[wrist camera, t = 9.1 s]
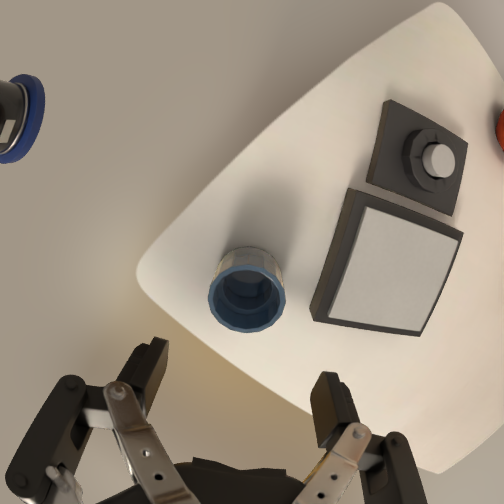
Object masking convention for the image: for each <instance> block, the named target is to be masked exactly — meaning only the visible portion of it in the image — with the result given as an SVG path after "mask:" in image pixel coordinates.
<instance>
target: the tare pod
mask: <svg viewBox="0 0 504 504" xmlns="http://www.w3.org/2000/svg"><path fill="white" fill-rule="evenodd" d="M438 144H443V145H446V146H447V147H449V148H450V150H451V151H452V153H453V155H454V158H455V167H454V171H453V173H452V174H451V175H450V176H448V177H445V178H444V177H437V176H432V175H430V174H429V173H428V172H427V171H426V170H425V168H424V166H423V161H422V156H423V152H424V150H425V148H426V147H427V146H429V145H438ZM467 147H468V143H467V142H466V141H464V140H463V139H461V138H459V137H458V136H456V135H455V134H453V133H452V132H450V131H448V130H447V129H445V128H444V127H442V126H440V125H439V124H437V123H435V122H433V121H432V120H430V119H428V118H426V117H424V116H423V115H421V114H419V113H417V112H415V111H413V110H411V109H409V108H407V107H405V106H403V105H401V104H399V103H397V102H395V101H393V100H391V99H390V100H387V101H385V102H384V104H383V109H382V114H381V119H380V124H379V129H378V134H377V138H376V143H375V147H374V151H373V156H372V160H371V164H370V168H369V172H368V176H367V179H366V182H367V183H370V184H372V185H375V186H378V187H381V188H383V189H386V190H389V191H391V192H394V193H396V194H399V195H401V196H404V197H406V198H409V199H411V200H414V201H416V202H418V203H421V204H423V205H426V206H428V207H430V208H432V209H435V210H437V211H439V212H441V213H443V214H446V215H449V216H452V215H453V212H454V208H455V204H456V200H457V196H458V192H459V188H460V184H461V179H462V175H463V170H464V165H465V159H466V153H467Z"/></svg>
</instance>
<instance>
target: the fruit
mask: <svg viewBox="0 0 504 504" xmlns="http://www.w3.org/2000/svg"><path fill="white" fill-rule="evenodd" d="M495 131H496V136H497V139H498V142H499V144H500V145H501V147H502V149H503V151H504V109H503V111H502V112H501V114H500V116H499V119H498V123H497V126H496V130H495Z"/></svg>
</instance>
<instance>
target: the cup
mask: <svg viewBox="0 0 504 504" xmlns="http://www.w3.org/2000/svg"><path fill="white" fill-rule="evenodd" d="M208 302H209V306H210V310H211V313H212V314H213V315H214V317H215V318H216V319H217V320H218V322H219V323H220V324H222V325H224V326H225V327H227V328H229V329H230V330H233V331H237V332H242V333H252V332H259V331H262V330H264V329H266V328H268V327H270V326H272V325H273V324H274V323H275V322H276V321H277V320H278V319H279V317H280V316H281V315H282V312H283V309H284V306H285V303H286V300H285V292H284V286H283V281H282V276H281V271H280V268H279V266H278V264H277V262H276V261H275V259H274V258H273V256H271V255H270V254H268V253H267V252H265V251H264V250H262V249H258V248H254V247H243V248H237V249H235V250H233V251H231V252H230V253H228V254H226V255H225V256H224V257H223V259H222V260H221V262H220V263H219V264H218V267H217V269H216V272H215V275H214V277H213V280H212V282H211V285H210V289H209V294H208Z"/></svg>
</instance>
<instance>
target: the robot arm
mask: <svg viewBox="0 0 504 504" xmlns="http://www.w3.org/2000/svg"><path fill="white" fill-rule="evenodd" d="M29 111H30V95H29V91H28V89H27V87H26V86H25V85H24V84H21V83H16V82H15V83H12V82H7V81H1V80H0V154H6V153H8V152H10V151H11V150H13V149H14V147H15V146H16V145H17V144H18V142H19V140H20V139H21V137H22V135H23V132H24V130H25V127H26V124H27V121H28V117H29ZM168 347H169V341H168V340H165V339H162V338H158V337H154V338H153V340H152V341H151V343H150V345H148V344H145V343H142V344H140V345H139V346H137V347H136V348H135V349H134V351H133V353H132V354H131V356H130V357H129V359H128V361H127V362H126V364H125V366H124V367H123V369H122V371H121V372H120V374H119V376H118V377H117V379H116V381H114V382H110V383H108V384H107V385H106V386H105V387H97V386H90V385H86V384H85V382H84V380H83V379H82V378H81V377H79V376H76V375H66V376H63V377H62V378H61V379H60V380H59V381H58V383H57V384H56V386H55V387H54V389H53V390H52V392H51V393H50V395H49V396H48V398H47V400H46V401H45V403H44V404H43V406H42V408H41V409H40V411H39V413H38V414H37V416H36V418H35V419H34V421H33V423H32V424H31V426H30V428H29V429H28V431H27V433H26V435H25V437H24V438H23V440H22V442H21V444H20V446H19V448H18V449H17V451H16V453H15V455H14V457H13V459H12V461H11V463H10V465H9V467H8V469H7V471H6V474H5V480H6V484H7V486H8V488H9V489H10V490H11V491H12V492H13V493H14V494H15V495H16V496H18V497H19V498H20V499H21V500H22V501H23V502H24V503H26V504H83V501H82V494H83V492H82V488H81V485H80V484H79V482H78V481H77V480H76V479H75V477H74V474H75V471H76V469H77V466H78V464H79V461H80V459H81V456H82V454H83V451H84V449H85V447H86V444H87V442H88V439H89V437H90V435H91V432H92V430H93V428H102V429H111V430H112V432H113V435H114V437H115V440H116V442H117V445H118V447H119V450H120V452H121V455H122V457H123V460H124V462H125V465H126V467H127V470H128V472H129V474H130V476H131V478H132V481H133V483H134V486H132V487H130V488H128V489H126V490H124V491H122V492H120V493H118V494H116V495H114V496H112V497H110V498H107V499H105V500H103V501H101V502H99V503H97V504H337V502H338V501H339V499H340V498H341V496H342V495H343V493H344V492H345V490H346V488H347V487H348V485H349V483H350V482H351V480H352V478H353V477H354V475H355V473H356V471H357V470H359V472H360V478H361V483H362V489H363V495H364V502H365V504H428V503H427V500H426V496H425V493H424V490H423V486H422V483H421V479H420V476H419V473H418V470H417V467H416V464H415V461H414V458H413V455H412V452H411V449H410V446H409V443H408V440H407V438H406V437H405V436H404V435H403V434H401V433H399V432H390V433H388V434H387V436H386V437H383V436H379V435H374V434H372V433H371V431H370V429H369V428H368V427H367V426H366V425H364V424H362V423H360V420H359V417H358V414H357V411H356V408H355V405H354V403H353V399H352V398H351V397H352V396H351V393H350V390H349V388H348V387H347V386H346V385H345V383H344V382H340V380H339V377H338V374H337V373H335V372H326V371H323V372H322V373H321V374H320V376H319V378H318V380H317V382H316V384H315V386H314V388H313V389H312V392H311V396H310V402H311V408H312V414H313V419H314V425H315V431H316V437H317V443H318V448H326V450H327V452H326V453H325V454H324V456H323V457H322V458H321V460H320V461H319V462H318V464H317V465H316V466H315V468H314V469H313V470H312V472H311V473H310V474H309V475H308V476H307V478H306V479H305V480H304V481H303V482H301V481H299V480H297V479H295V478H293V477H290V476H287V475H286V469H270V468H261V469H250V470H238V469H235V468H232V467H229V466H227V465H224V464H221V463H219V462H215V461H210V460H205V459H200V458H196V457H193V461H192V462H184V463H177V464H173V463H172V462H171V460H170V458H169V456H168V455H167V453H166V451H165V449H164V447H163V445H162V444H161V442H160V440H159V438H158V436H157V434H156V432H155V430H154V428H153V427H152V425H151V424H148V422H147V421H146V418H147V415H148V413H149V411H150V408H151V406H152V403H153V401H154V398H155V395H156V393H157V391H158V388H159V386H160V383H161V381H162V378H163V376H164V374H165V371H166V367H167V359H168ZM386 470H387V471H386ZM387 474H388V475H387Z"/></svg>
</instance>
